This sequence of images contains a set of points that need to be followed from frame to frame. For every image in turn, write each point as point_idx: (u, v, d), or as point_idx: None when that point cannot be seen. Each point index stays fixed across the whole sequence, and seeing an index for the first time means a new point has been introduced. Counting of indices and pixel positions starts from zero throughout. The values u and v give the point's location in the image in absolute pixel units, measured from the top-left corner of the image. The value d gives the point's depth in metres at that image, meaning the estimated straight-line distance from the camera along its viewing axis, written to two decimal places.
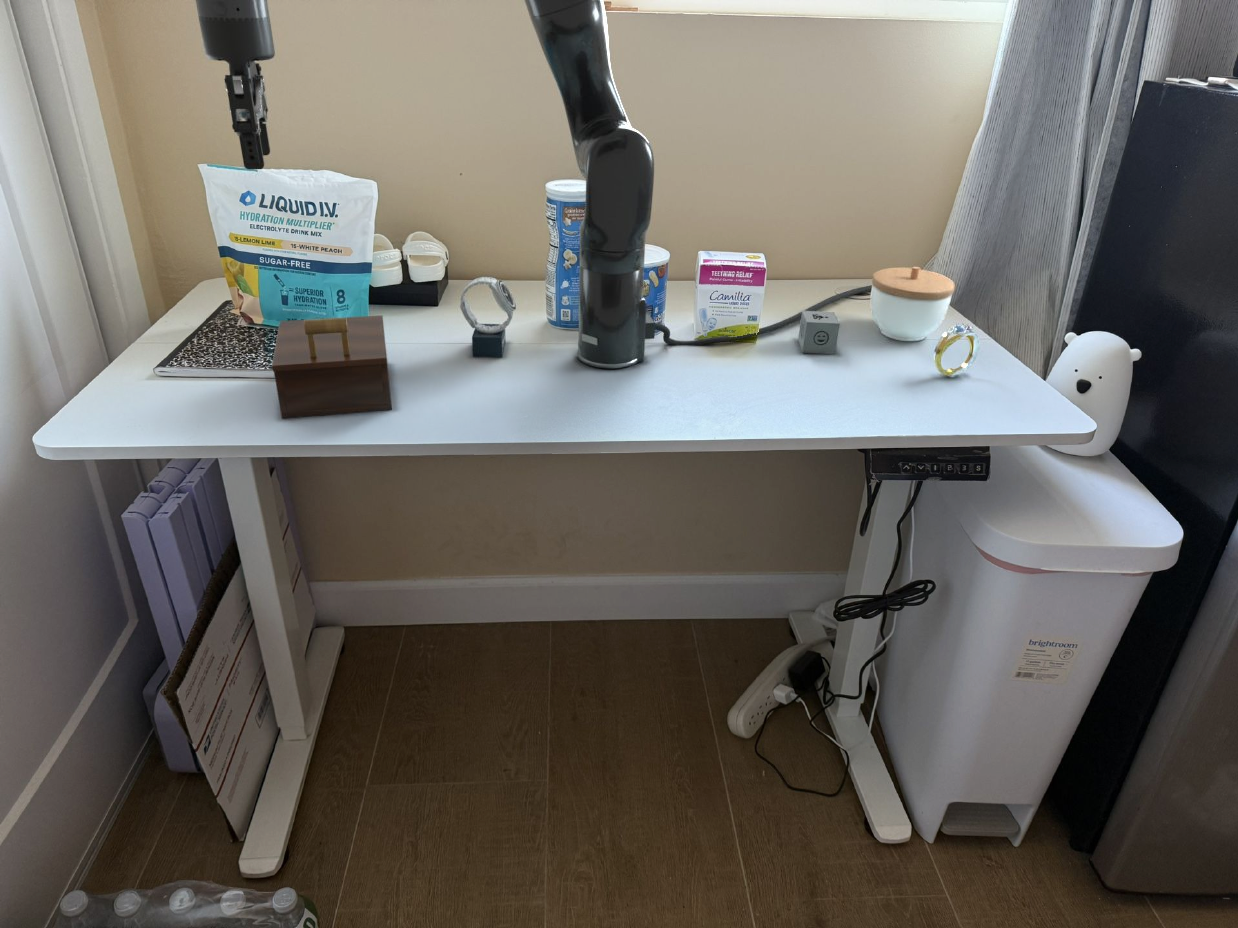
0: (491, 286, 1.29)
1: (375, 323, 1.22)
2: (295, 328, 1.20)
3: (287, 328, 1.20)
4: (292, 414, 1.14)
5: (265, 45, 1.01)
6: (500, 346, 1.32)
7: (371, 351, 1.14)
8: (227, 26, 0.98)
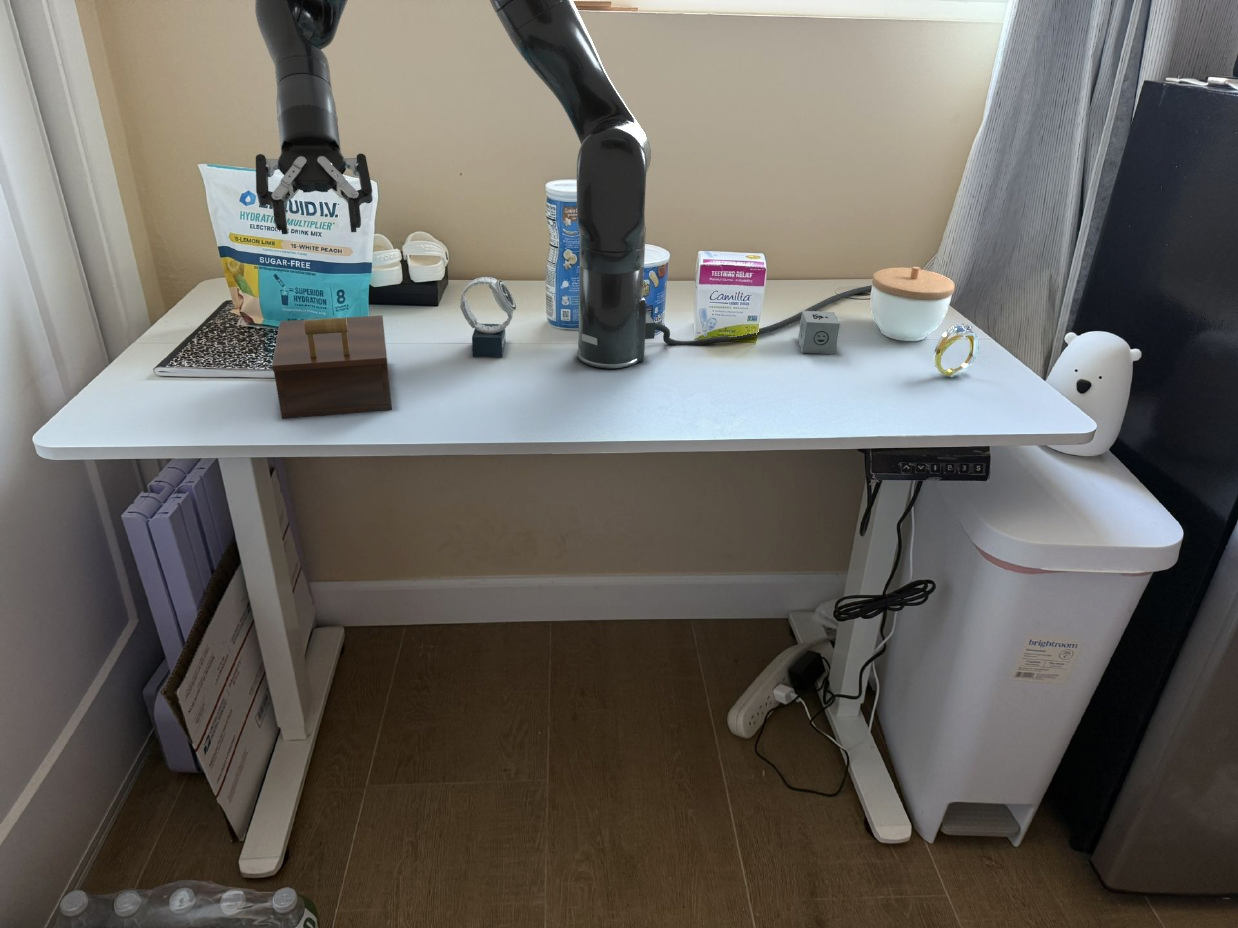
0: (491, 286, 1.29)
1: (375, 323, 1.22)
2: (295, 328, 1.20)
3: (287, 328, 1.20)
4: (292, 414, 1.14)
5: (290, 127, 1.15)
6: (500, 346, 1.32)
7: (371, 351, 1.14)
8: None
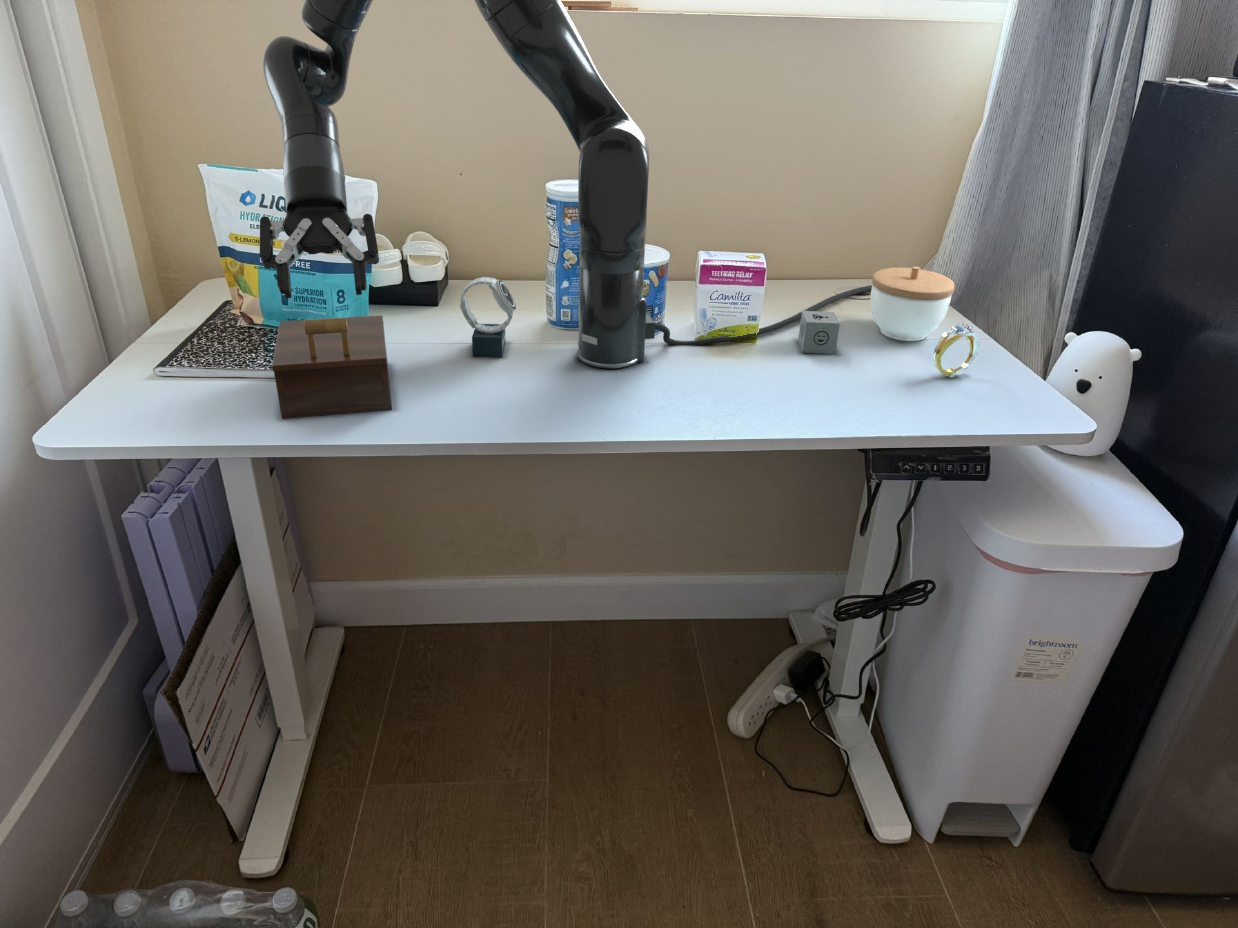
0: (491, 286, 1.29)
1: (375, 323, 1.22)
2: (295, 328, 1.20)
3: (287, 328, 1.20)
4: (292, 414, 1.14)
5: (295, 188, 1.12)
6: (500, 346, 1.32)
7: (371, 351, 1.14)
8: None
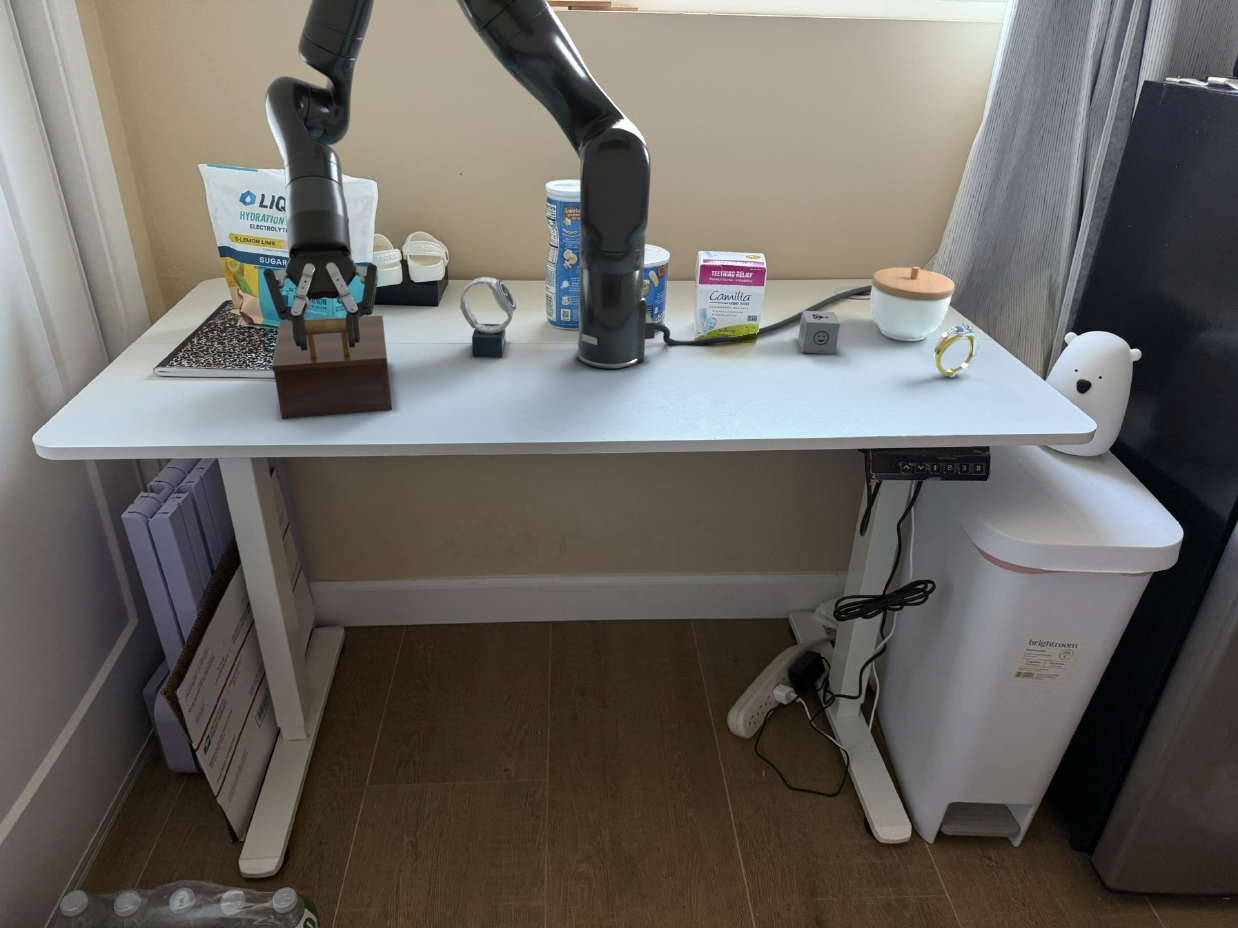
0: (491, 286, 1.29)
1: (375, 323, 1.22)
2: None
3: (287, 328, 1.20)
4: (292, 414, 1.14)
5: (298, 233, 1.10)
6: (500, 346, 1.32)
7: (371, 351, 1.14)
8: None
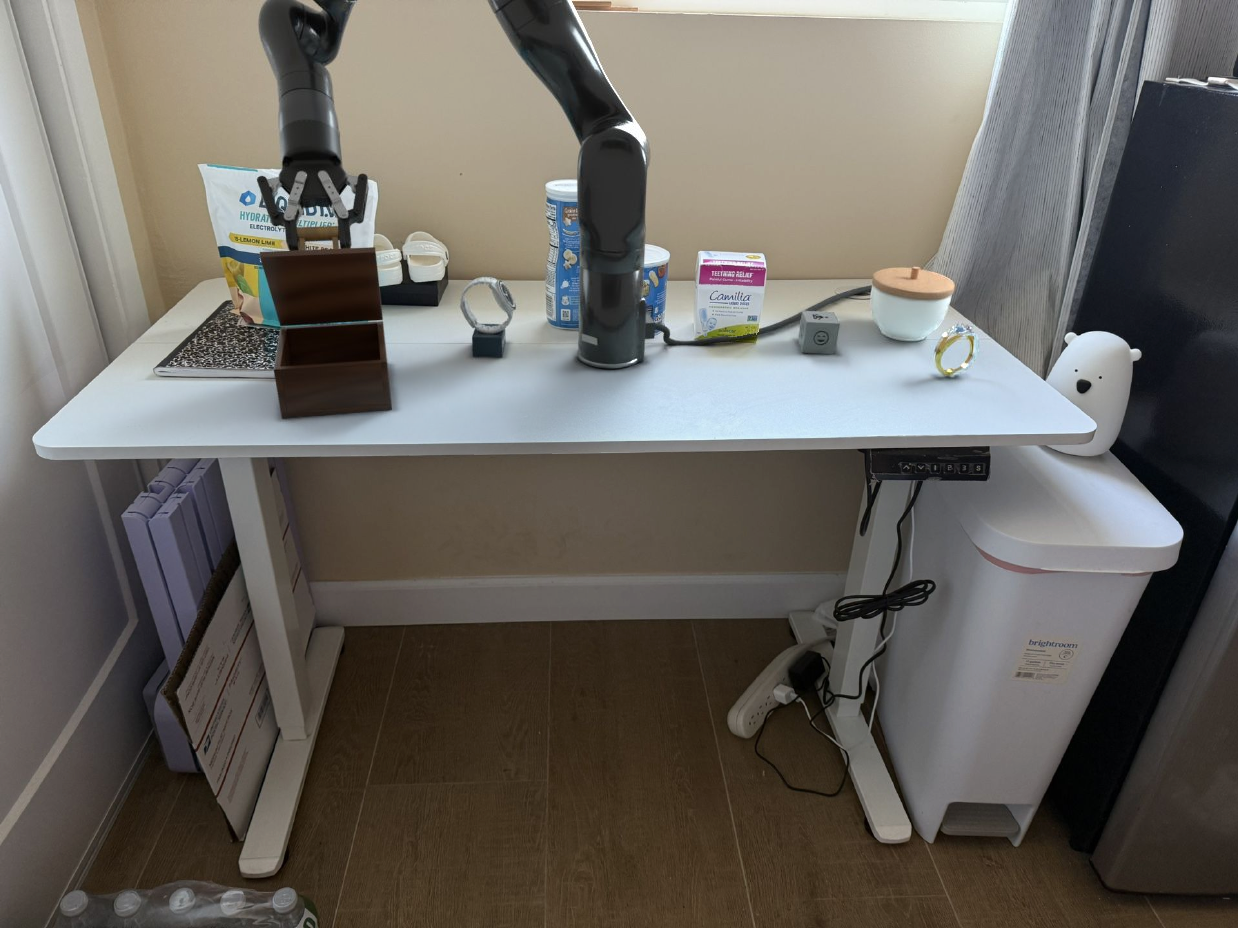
0: (491, 286, 1.29)
1: None
2: None
3: None
4: (292, 414, 1.14)
5: (290, 142, 1.13)
6: (500, 346, 1.32)
7: None
8: None
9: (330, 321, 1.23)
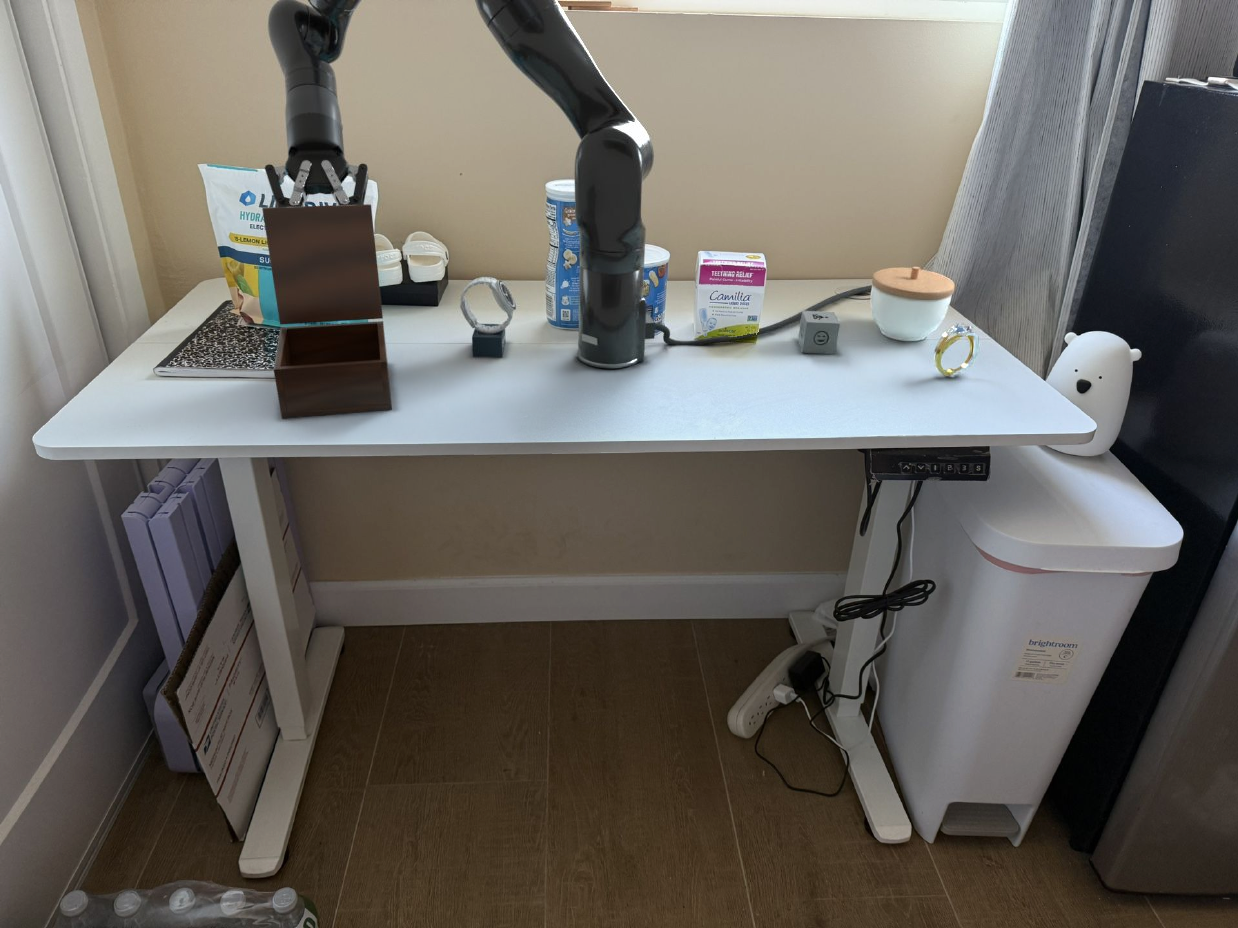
0: (491, 286, 1.29)
1: None
2: None
3: None
4: (292, 414, 1.14)
5: (296, 133, 1.22)
6: (500, 346, 1.32)
7: None
8: None
9: (330, 318, 1.23)
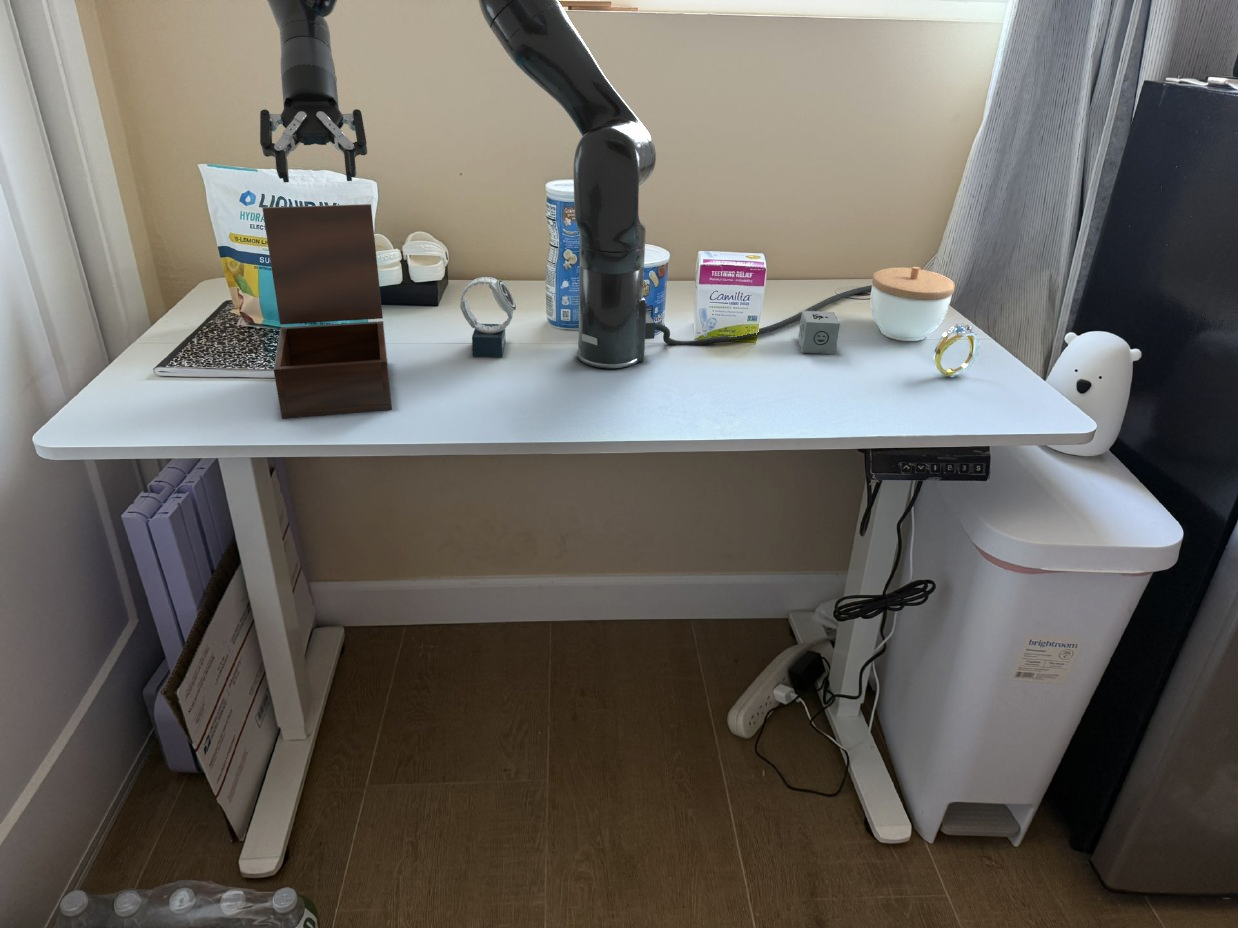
0: (491, 286, 1.29)
1: None
2: None
3: None
4: (292, 414, 1.14)
5: (291, 84, 1.25)
6: (500, 346, 1.32)
7: None
8: None
9: (330, 318, 1.23)
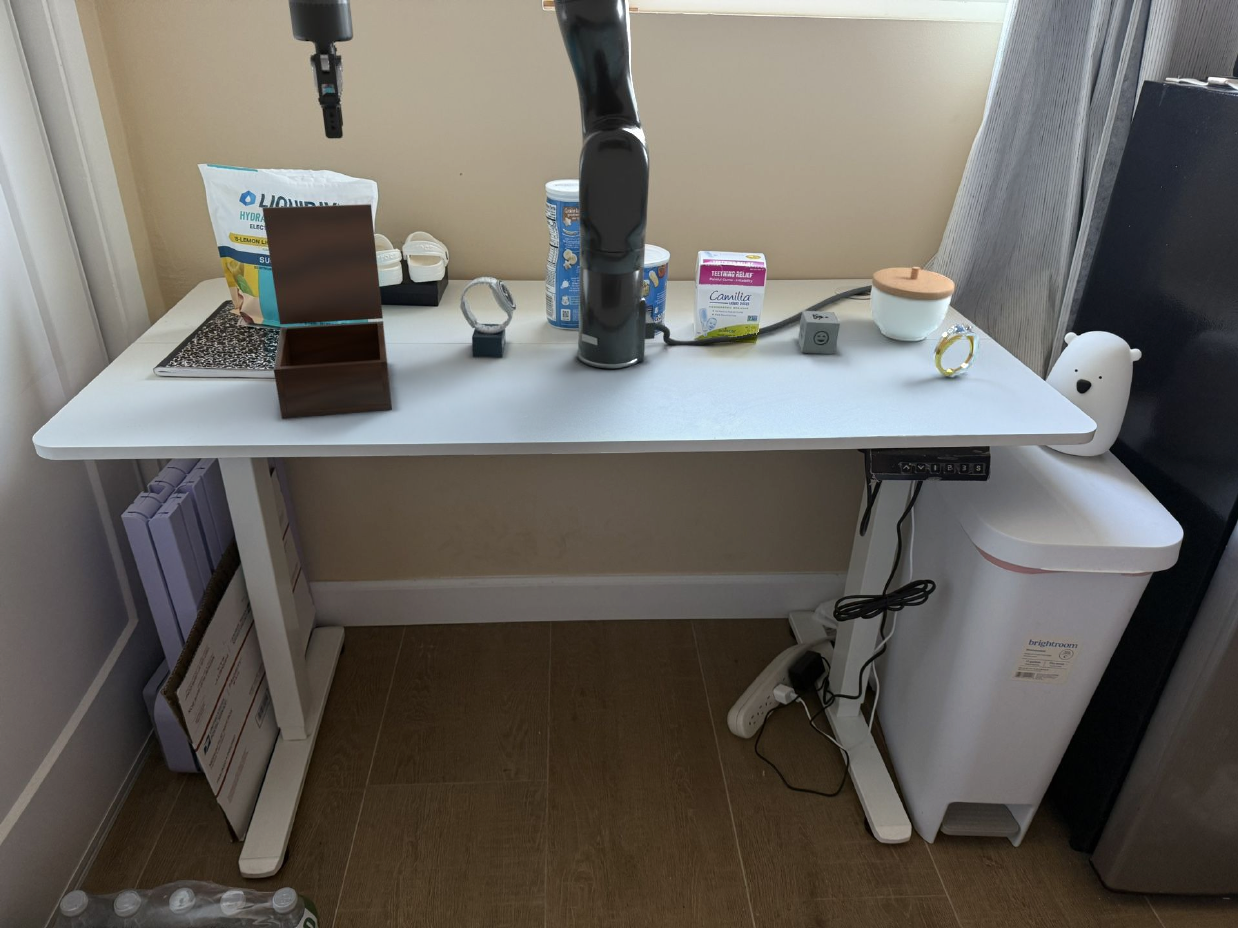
0: (491, 286, 1.29)
1: None
2: None
3: None
4: (292, 414, 1.14)
5: (346, 28, 1.15)
6: (500, 346, 1.32)
7: None
8: (315, 11, 1.12)
9: (330, 318, 1.23)
